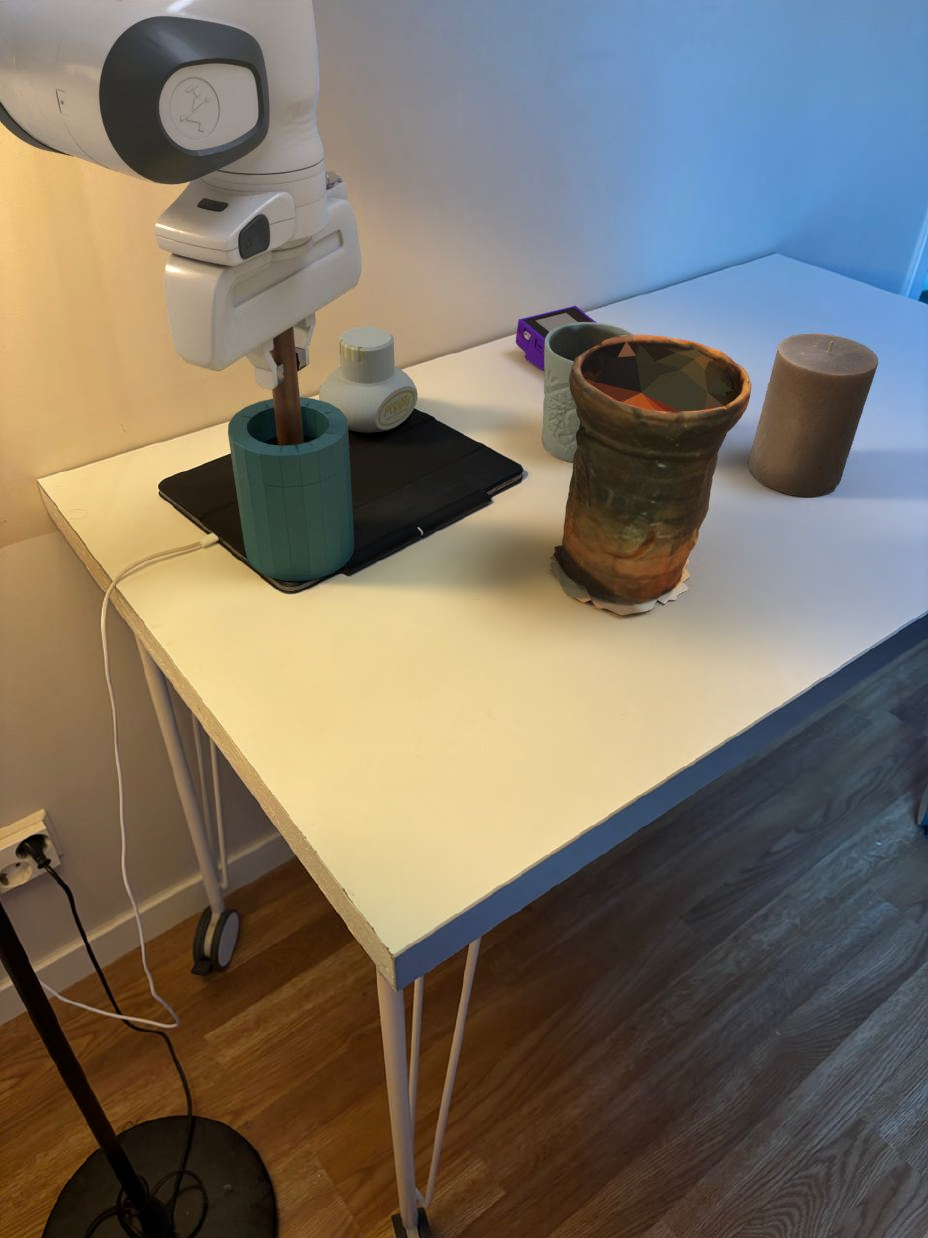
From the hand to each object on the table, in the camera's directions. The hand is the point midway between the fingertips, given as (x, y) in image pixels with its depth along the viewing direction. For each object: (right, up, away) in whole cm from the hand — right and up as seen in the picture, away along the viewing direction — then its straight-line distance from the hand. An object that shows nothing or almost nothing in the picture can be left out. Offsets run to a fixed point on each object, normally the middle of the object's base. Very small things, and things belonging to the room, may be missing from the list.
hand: (283, 376), depth 78 cm
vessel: (+30, -15, +11) cm, 35 cm away
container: (-1, -13, +11) cm, 17 cm away
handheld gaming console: (+29, +11, +42) cm, 52 cm away
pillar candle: (+50, -4, +25) cm, 56 cm away
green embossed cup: (+28, -1, +28) cm, 39 cm away
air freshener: (+4, +2, +30) cm, 31 cm away
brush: (0, -10, +9) cm, 13 cm away
